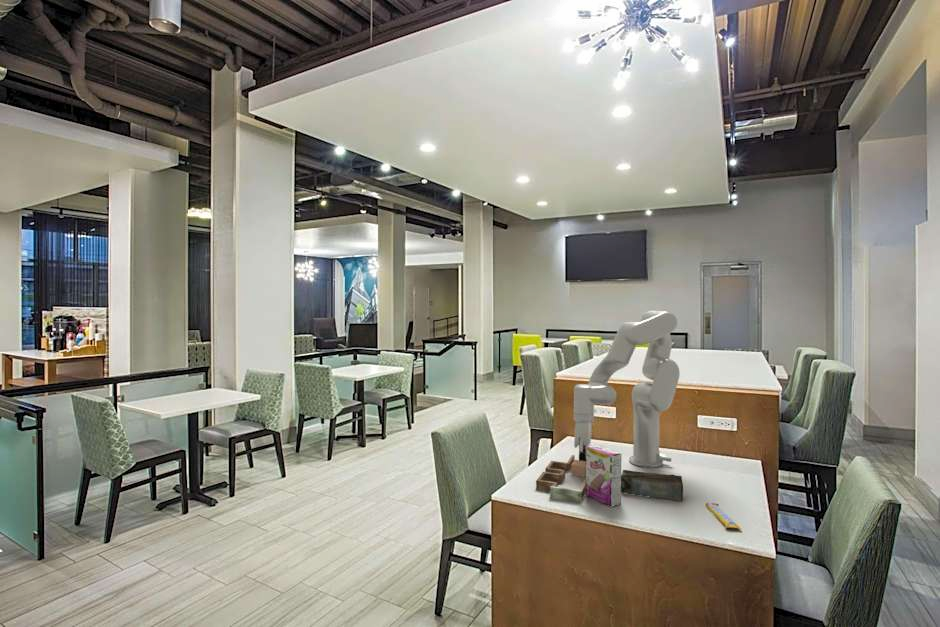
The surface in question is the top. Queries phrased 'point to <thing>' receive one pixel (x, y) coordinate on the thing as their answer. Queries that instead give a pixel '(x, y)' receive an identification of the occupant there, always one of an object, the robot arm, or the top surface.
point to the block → (578, 468)
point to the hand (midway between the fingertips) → (583, 464)
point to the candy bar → (722, 516)
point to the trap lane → (554, 477)
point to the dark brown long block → (652, 485)
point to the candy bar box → (603, 474)
